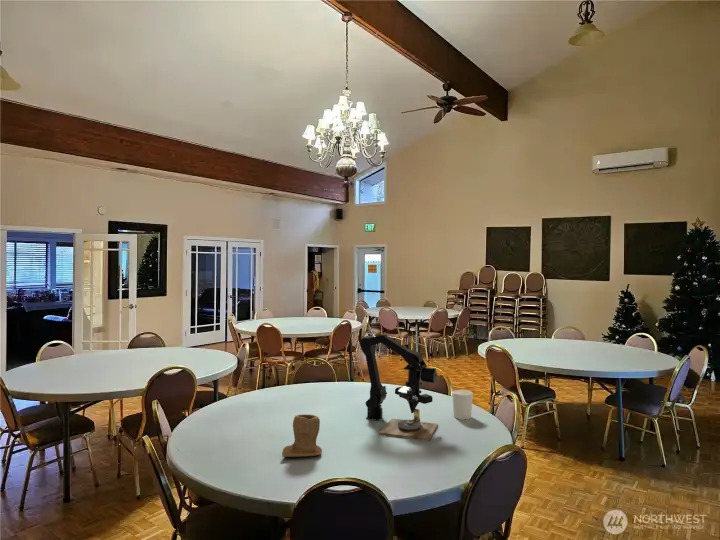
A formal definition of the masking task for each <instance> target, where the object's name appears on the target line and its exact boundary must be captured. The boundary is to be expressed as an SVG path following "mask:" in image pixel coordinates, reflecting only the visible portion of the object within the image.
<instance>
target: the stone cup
mask: <svg viewBox="0 0 720 540" xmlns="http://www.w3.org/2000/svg"><path fill="white" fill-rule="evenodd" d="M320 422H321V420H320V417H319V416H318V415H315V414H297V415H295V416H294V418H293V421H292V430H293V436H294V442H293V443H292V444H291V445H290V444H289V445H286V446H284V447H283V449H282V453H281V455H282V458H294V457H295V458H297V457H299V458H300V457H303V458H304V457H313V456H320V455H321V454H322V452H323V451H322V450H323V449H322V448H321V447H320V446H319V445H317V438H318V435H319V433H320V424H321V423H320Z"/></svg>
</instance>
